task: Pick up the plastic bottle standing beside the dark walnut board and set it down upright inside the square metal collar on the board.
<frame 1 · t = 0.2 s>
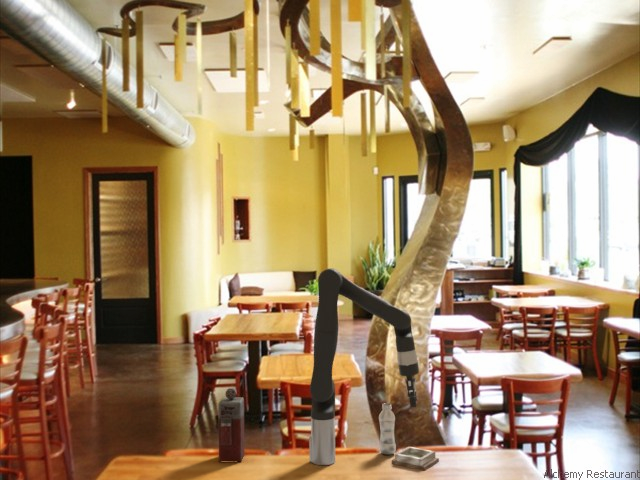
hand: (413, 404, 244), 23 cm above the table, tool pointing down, fingers open, 8 cm apart
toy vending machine: (231, 460, 251), on the table
socket board: (415, 462, 244), on the table
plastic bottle: (387, 454, 255), on the table
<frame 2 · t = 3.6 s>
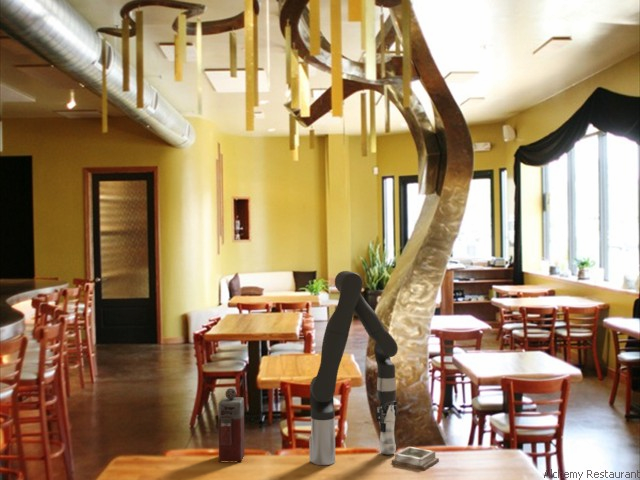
hand: (387, 429, 255), 10 cm above the table, tool pointing down, fingers closed on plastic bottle, 6 cm apart
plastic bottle: (387, 454, 255), on the table, touching gripper
everything else where it was.
when the fingers open (12 cm above the table, at t = 11.2 s): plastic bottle drops 1 cm, resting on socket board.
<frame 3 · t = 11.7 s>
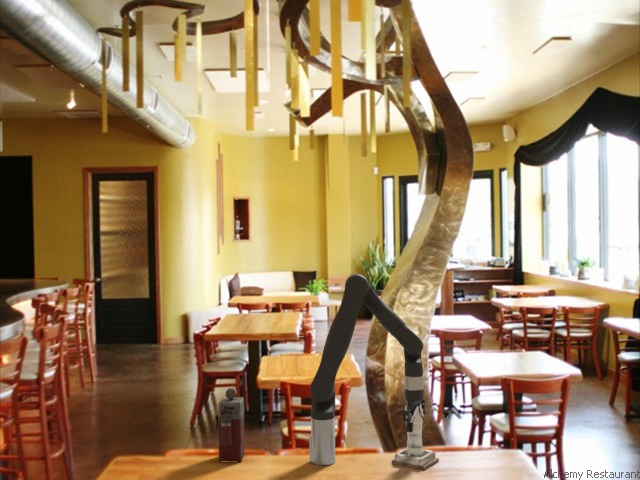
hand: (414, 429, 244), 13 cm above the table, tool pointing down, fingers open, 8 cm apart
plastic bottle: (415, 459, 244), point 1 cm above the table, touching socket board
everything else where it was.
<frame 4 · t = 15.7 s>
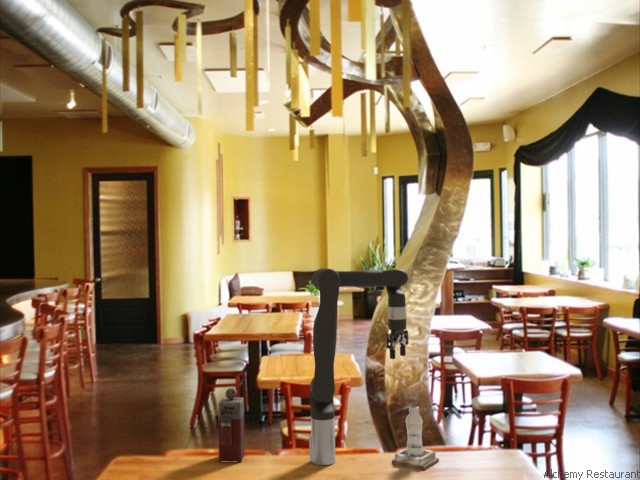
hand: (397, 357, 259), 38 cm above the table, tool pointing down, fingers open, 8 cm apart
nothing on the table moved.
at the end: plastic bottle 0.1 cm off-centre on the socket board, point 1.2 cm above the socket board's base; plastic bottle tilted 0°; the gripper is holding nothing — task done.
